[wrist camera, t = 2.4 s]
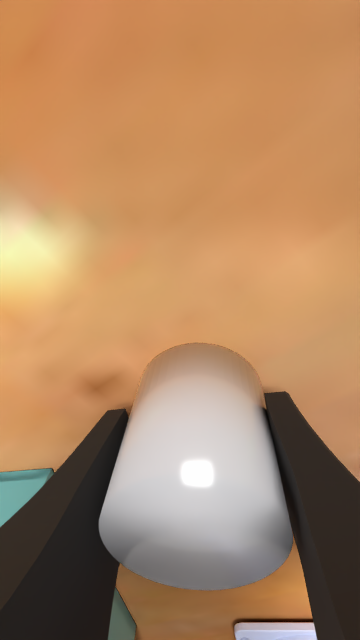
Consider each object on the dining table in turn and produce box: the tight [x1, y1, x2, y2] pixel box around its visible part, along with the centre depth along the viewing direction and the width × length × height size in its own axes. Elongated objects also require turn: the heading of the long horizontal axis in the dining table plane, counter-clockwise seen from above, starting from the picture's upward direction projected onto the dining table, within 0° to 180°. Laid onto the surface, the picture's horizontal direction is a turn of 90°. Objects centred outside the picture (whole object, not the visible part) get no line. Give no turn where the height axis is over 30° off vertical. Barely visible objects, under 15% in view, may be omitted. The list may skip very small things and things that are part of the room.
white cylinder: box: [99, 343, 293, 590], centre depth 10 cm, size 4×4×5 cm
